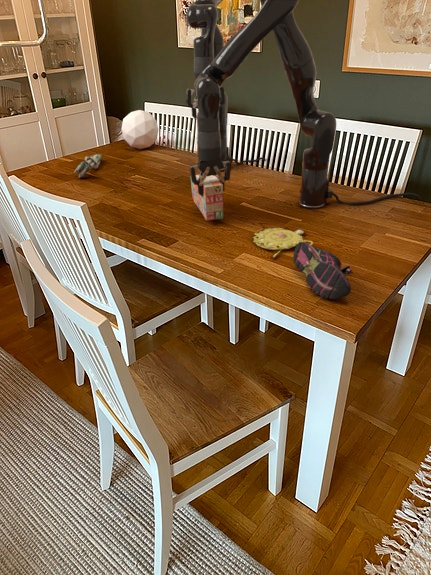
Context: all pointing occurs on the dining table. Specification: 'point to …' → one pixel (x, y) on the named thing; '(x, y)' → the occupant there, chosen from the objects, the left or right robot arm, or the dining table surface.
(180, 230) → the dining table surface
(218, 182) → the stack of blocks
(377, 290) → the dining table surface
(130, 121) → the sphere
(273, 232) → the decorative object
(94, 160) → the figurine
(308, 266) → the athletic shoe
